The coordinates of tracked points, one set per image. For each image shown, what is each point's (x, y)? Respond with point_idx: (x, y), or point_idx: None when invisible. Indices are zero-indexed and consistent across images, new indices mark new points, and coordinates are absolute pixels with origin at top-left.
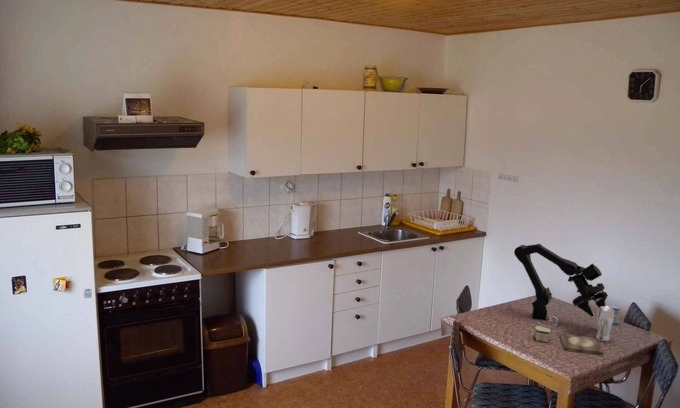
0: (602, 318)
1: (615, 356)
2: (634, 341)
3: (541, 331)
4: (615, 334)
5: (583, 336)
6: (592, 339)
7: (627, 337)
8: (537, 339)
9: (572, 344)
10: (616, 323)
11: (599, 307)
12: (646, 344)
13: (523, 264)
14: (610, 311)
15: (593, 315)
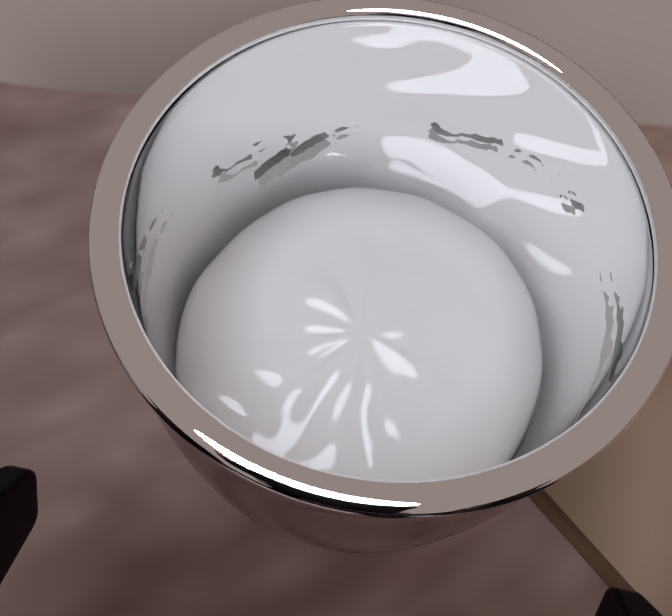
0: (560, 320)
1: (663, 145)
2: (89, 193)
3: None
4: (28, 421)
5: (653, 604)
6: (616, 456)
7: (18, 286)
8: None
9: None
10: None
11: (576, 446)
12: (75, 99)
13: None
14: (516, 38)
15: (616, 589)
